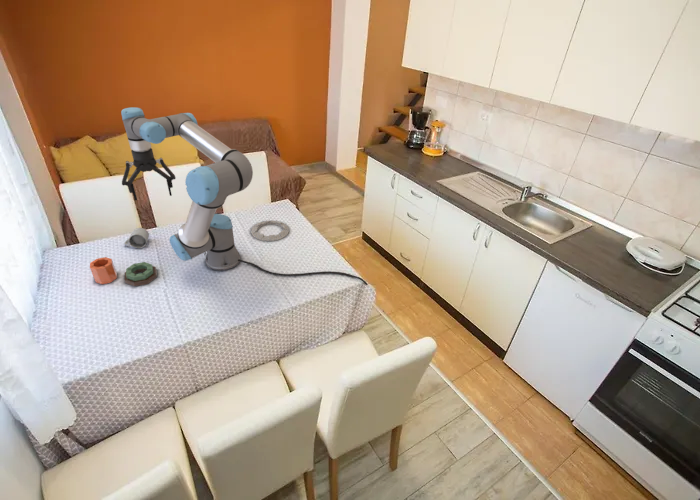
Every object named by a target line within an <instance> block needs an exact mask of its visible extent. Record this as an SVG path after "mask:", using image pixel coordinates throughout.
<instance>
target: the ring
mask: <svg viewBox="0 0 700 500" xmlns="http://www.w3.org/2000/svg"><path fill="white" fill-rule="evenodd" d="M269 225H274V226H278V227H280V228H281V229H282V230H281V231H280V232H278V234H268V235H265V234H264V233H261V232H258V230H259V229H260V228H261V227H264V226H269ZM250 233H251V235H252V236H253V238H255V239H257V240H259V241H263V242H274V241H280V240H282V239H284V238H286V237H287V236H288V235H289V233H290V229H289V226H288V225H287V224H285V222H281V221H278V220H265V221H261V222H258V223H256V224H255V225H253V226H252V228H251V231H250Z"/></svg>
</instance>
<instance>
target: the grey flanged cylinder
mask: <svg viewBox="0 0 700 500" xmlns="http://www.w3.org/2000/svg"><path fill="white" fill-rule="evenodd" d="M149 237H150V233H149V231H148V230H147V229H145V228H144V227H136V228H135V229H133V230H132V232H131V234H130V236H129V237H128V239H126V240H125V242H124V245H125V247H133V248H134V249H142V248H145V247H146V245H147V243H148V242H149V241H148V240H149Z"/></svg>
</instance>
